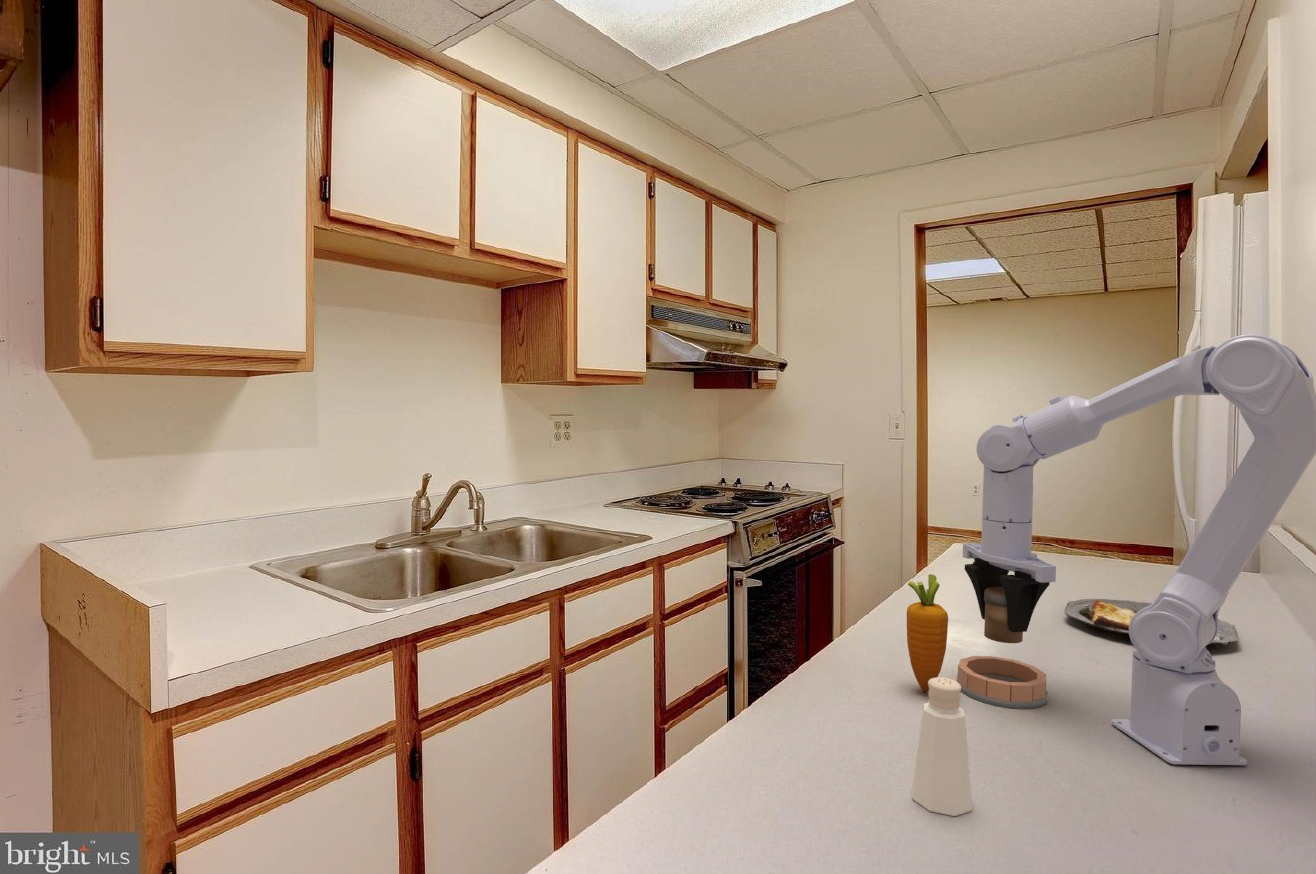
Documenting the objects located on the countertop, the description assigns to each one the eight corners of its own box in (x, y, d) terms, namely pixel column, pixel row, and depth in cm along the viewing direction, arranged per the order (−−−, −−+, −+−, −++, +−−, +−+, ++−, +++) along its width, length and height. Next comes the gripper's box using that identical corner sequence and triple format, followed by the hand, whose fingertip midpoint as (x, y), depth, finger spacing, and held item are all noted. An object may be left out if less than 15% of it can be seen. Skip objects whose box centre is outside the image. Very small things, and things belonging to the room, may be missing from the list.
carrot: (920, 702, 84) (923, 581, 84) (896, 686, 89) (899, 572, 89) (955, 698, 86) (958, 579, 85) (929, 683, 90) (932, 570, 90)
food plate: (1243, 665, 98) (1243, 641, 98) (1056, 634, 112) (1057, 612, 112) (1231, 628, 118) (1232, 608, 118) (1074, 605, 132) (1074, 587, 132)
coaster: (1065, 709, 83) (1066, 686, 83) (979, 708, 83) (980, 685, 83) (1019, 676, 93) (1020, 656, 93) (943, 675, 93) (944, 655, 93)
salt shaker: (956, 783, 66) (959, 670, 65) (985, 816, 60) (989, 694, 60) (900, 784, 65) (903, 670, 65) (924, 817, 60) (928, 694, 60)
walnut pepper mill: (1032, 642, 86) (1034, 595, 86) (1000, 644, 85) (1001, 597, 85) (1006, 630, 91) (1007, 585, 90) (975, 632, 90) (976, 587, 89)
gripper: (1079, 528, 81) (1075, 641, 81) (995, 511, 95) (992, 607, 96) (1027, 529, 79) (1024, 645, 80) (950, 511, 94) (947, 609, 94)
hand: (1003, 625), depth 88 cm, fingers closed on walnut pepper mill, 5 cm apart
